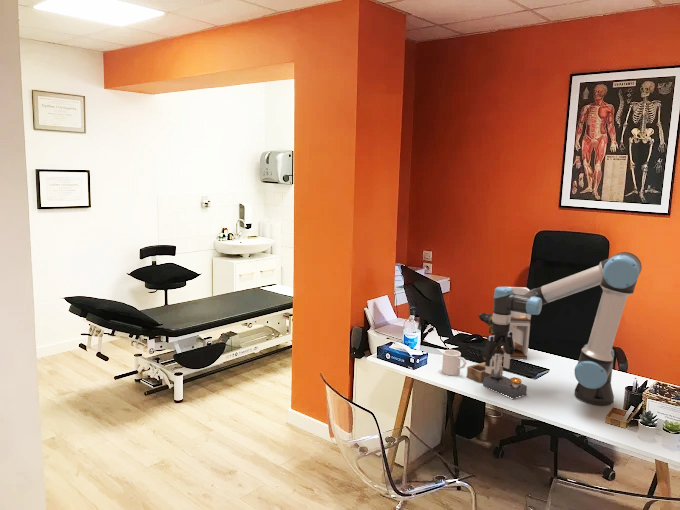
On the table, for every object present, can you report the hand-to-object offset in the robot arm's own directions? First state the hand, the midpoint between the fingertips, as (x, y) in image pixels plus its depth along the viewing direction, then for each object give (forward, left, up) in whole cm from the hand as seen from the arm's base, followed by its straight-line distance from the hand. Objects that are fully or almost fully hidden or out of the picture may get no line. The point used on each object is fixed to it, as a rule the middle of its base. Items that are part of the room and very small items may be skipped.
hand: (497, 370), depth 236 cm
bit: (0, 0, -8) cm, 8 cm away
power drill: (+22, -21, -8) cm, 32 cm away
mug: (+20, +5, -8) cm, 23 cm away
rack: (+10, -5, -8) cm, 14 cm away
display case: (+22, -40, -8) cm, 47 cm away
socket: (-5, 0, -8) cm, 9 cm away
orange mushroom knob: (-10, 0, -7) cm, 12 cm away
